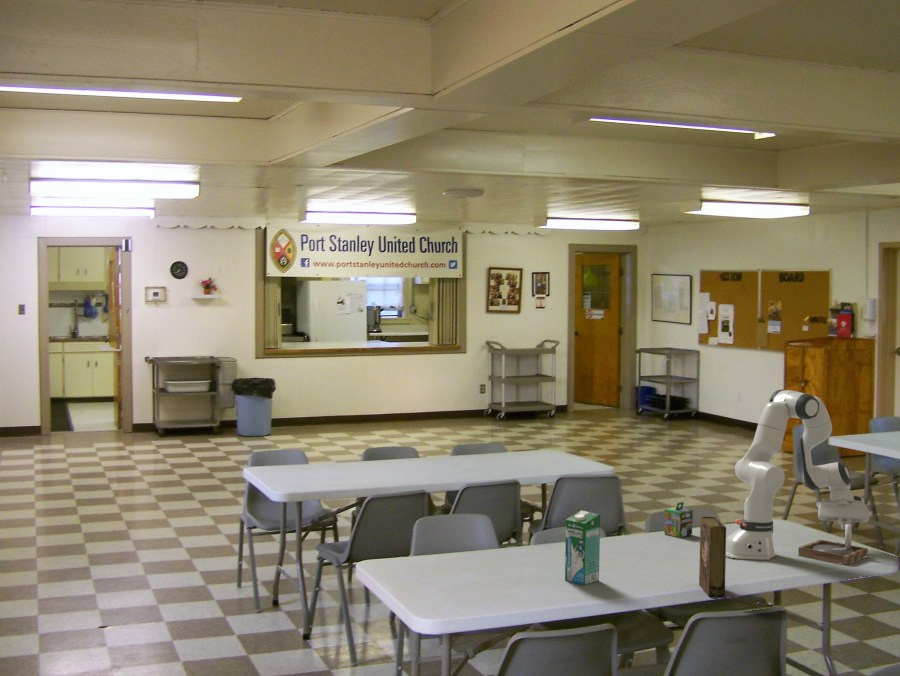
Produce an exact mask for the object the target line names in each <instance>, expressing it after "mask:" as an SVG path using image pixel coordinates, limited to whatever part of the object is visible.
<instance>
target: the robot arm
mask: <svg viewBox="0 0 900 676" xmlns="http://www.w3.org/2000/svg"><path fill="white" fill-rule="evenodd" d="M790 418H792V419H801V423H802V425H803V432H802V434H800V436H799V449H800V458H801V466H802V481H803V484H804V486H805V488H808V489H810V490H811V491H816V490H821V489H823V488H824V489H825V488H828V489H829V499H828V500H826V499H825V500H823V499H820V500H818V501H817V502H816V503H815V504H816V508H817V509H818V510H817V517H818V520H820V521H828V522H829V521H831V522H837V524H838V525H839V526H840V529H841V530H845V525H846V524H850V525H851V523H868V522H869V521H870V517H871V516H870V512H869V508H868V506H867V504H865V498H864V497H862V496H859V495H856V494H853V493H852V492H851V474H850V470H849V468H848V467H847V465H845V464H843V463H842V462H838V461H837V462H830V463H826V464H825V463H824V464H820V465H814V464H813V460H812V455H811V454H812V453H811V451H812V450H813V449H814V448H815V447H816V446H818V445H820V444H821V443H823V442H825V441H826V440H827V439H829V438H830V436H831V434H832V432H833V423H832V420H831V417H830V415H829V412H828V410H827V407H826V405H825V403H824V402H823V400H822V399H821V398H820V397H819V396H814V395H811V394H810V393H803V392H800V391H797V390H791V389H790V390H789V389H778V390H775V391H774V392H773V393H772V394H771V396H770V398H769V401H768V403H766V404H765V405H764V408H763V410H762V412H761V415H760V417H759V420H758V424H757V427H756V430H755V434H754V437H753V440H752V442H751V445H750V447H749V448H748V450H747V452H746V453H745V454H744V456H743V457H742V458H740V459H739V460H737V462H736V463H735V466H734V473H735V476H736V477H737V478H738V479H739V480H740V481H742V482H743V483H745V484H747V485H750V486H751V490H750V493H749V496H748V497H746V498H745V500H744V509H743V512H744V514H743V515H744V516H743V519H742V520H740V519H739V518H738V519H737V518H736V519H735V521H734V522H735V524H736V525H739V527H738V528H737V529H736V530H735V531H734V532H732V533H730V535H728V536H726V556H727V557H726V558H728V557H730V558H729V559H732V558H735V559H734V560H762V561H764V560H767V561H768V560H771V558H774V557H775V556H776V552H775V548H774V541H773V534H774V521H773V511H774V510H773V509H774V508H773V507H774V506H773V505H774V500H775V497H776V494H777V491H778V490H779V489H780V488H782V486H783V485H784V483H785V479H786V475H785V471H784V470H783V468H781V467H780V466H778V465H776V464H775V463H772V462H770V461H771V460H772V459H773V457H774V456H775V455H776V454H777V453H779V451H780V450H781V449H782V445H783V441H784V437H785V434H786V430H787V425H788V421H789V419H790ZM843 522H846V523H843Z"/></svg>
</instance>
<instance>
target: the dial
mask: <svg viewBox="0 0 900 676" xmlns="http://www.w3.org/2000/svg"><path fill="white" fill-rule="evenodd" d="M845 524H846V525H845V531H844V532H845V533H844V544H845V547H843V546H838V545H815V546H813V547H812V549H814V550H819V551H825V552H830V553H835V554H840V555H847V554H850V553H852V552H854V550H853V549H851V545H852V531H853V530H852V527H853V525H852V524H851V523H850V524H848V523H845Z"/></svg>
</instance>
